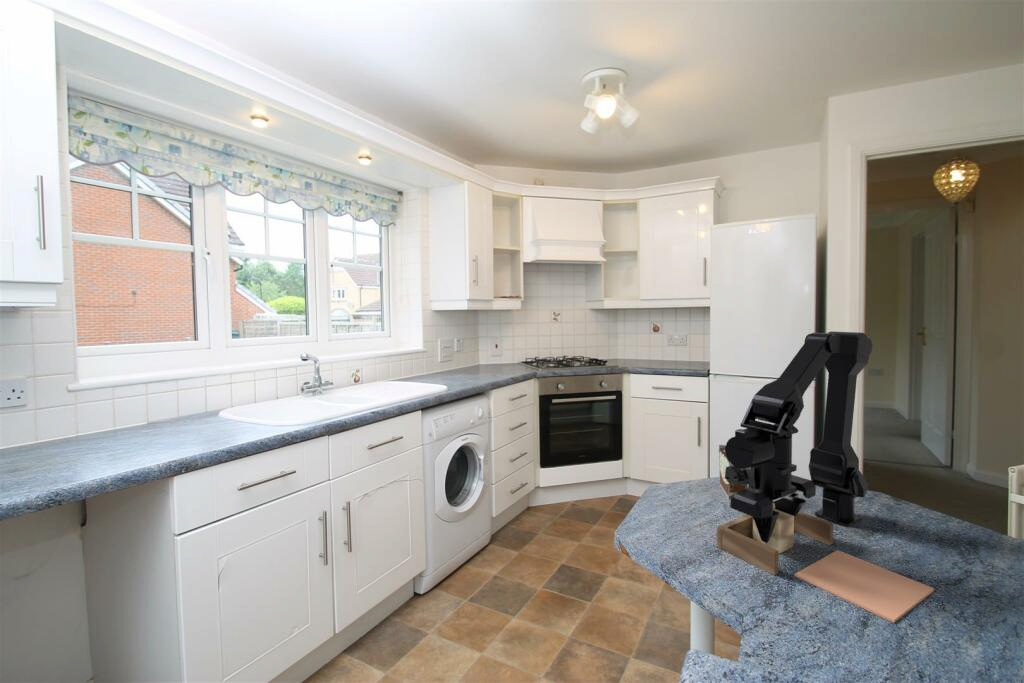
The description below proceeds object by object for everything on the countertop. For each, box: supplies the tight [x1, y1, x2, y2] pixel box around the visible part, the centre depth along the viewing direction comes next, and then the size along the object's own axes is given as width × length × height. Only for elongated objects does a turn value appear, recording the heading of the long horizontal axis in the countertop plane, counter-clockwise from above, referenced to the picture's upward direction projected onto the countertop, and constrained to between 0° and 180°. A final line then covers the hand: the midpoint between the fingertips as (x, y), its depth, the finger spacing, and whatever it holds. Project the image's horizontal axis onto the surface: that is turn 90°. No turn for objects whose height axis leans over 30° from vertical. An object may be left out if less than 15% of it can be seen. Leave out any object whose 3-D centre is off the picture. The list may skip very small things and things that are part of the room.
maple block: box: [752, 508, 795, 554], centre depth 90 cm, size 5×5×6 cm
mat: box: [794, 549, 935, 624], centre depth 78 cm, size 14×14×1 cm
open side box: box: [716, 504, 835, 576], centre depth 90 cm, size 19×11×4 cm, turn 120°
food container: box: [718, 444, 748, 500], centre depth 115 cm, size 12×6×10 cm, turn 168°
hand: (772, 537), depth 91 cm, fingers closed on maple block, 5 cm apart
